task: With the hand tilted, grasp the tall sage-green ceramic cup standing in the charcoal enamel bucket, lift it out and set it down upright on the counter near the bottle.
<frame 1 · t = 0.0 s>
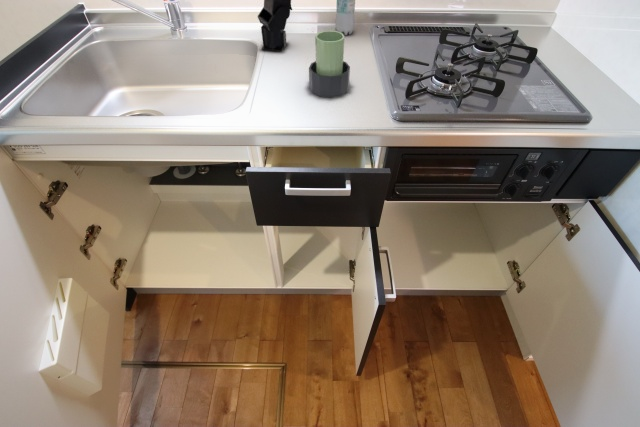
bucket: (329, 87, 90), on the worktop
cup: (329, 63, 85), in the bucket
bottle: (344, 33, 115), on the worktop
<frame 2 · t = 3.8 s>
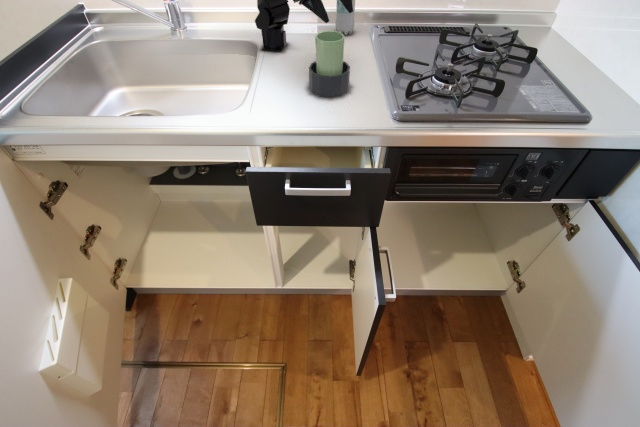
hand: (340, 17, 84), 14 cm above the worktop, tool tilted 40°, fingers open, 9 cm apart
nothing on the worktop moved.
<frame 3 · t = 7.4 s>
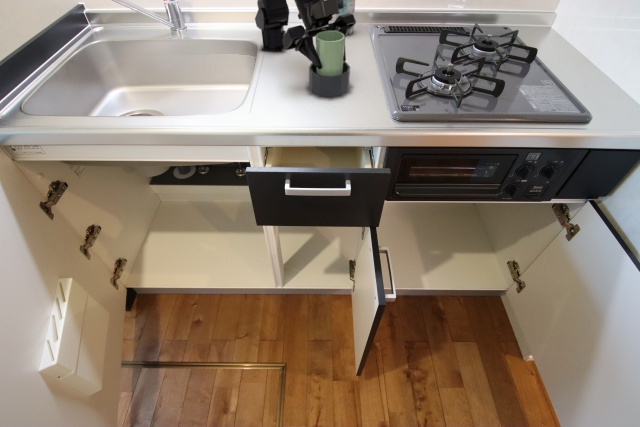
hand: (332, 64, 84), 7 cm above the worktop, tool tilted 45°, fingers closed on cup, 7 cm apart
cup: (329, 63, 85), in the bucket, touching gripper
everything else where it was.
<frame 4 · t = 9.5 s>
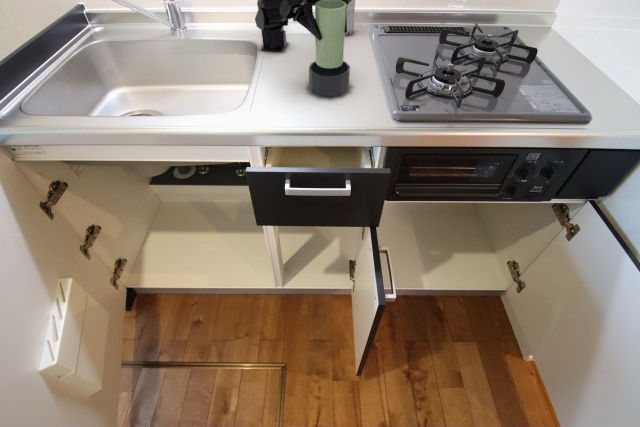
hand: (333, 36, 79), 13 cm above the worktop, tool tilted 45°, fingers closed on cup, 7 cm apart
cup: (330, 34, 80), point 13 cm above the worktop, touching gripper
everything else where it was.
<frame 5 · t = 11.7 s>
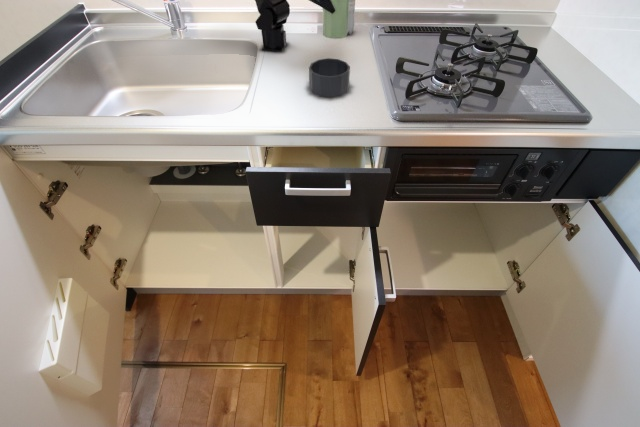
hand: (340, 8, 88), 15 cm above the worktop, tool tilted 45°, fingers closed on cup, 7 cm apart
cup: (335, 7, 89), point 14 cm above the worktop, touching gripper
everything else where it was.
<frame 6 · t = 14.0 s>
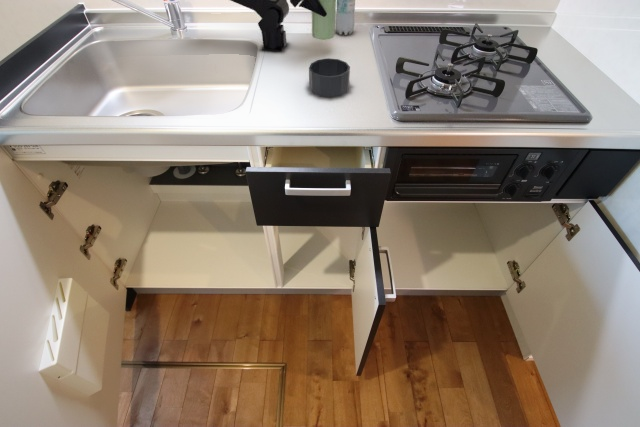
hand: (328, 11, 96), 11 cm above the worktop, tool tilted 45°, fingers closed on cup, 7 cm apart
cup: (323, 11, 96), point 11 cm above the worktop, touching gripper
everything else where it was.
when the fingers open (7 cm above the worktop, at t = 15.9 s): cup stays where it is, on the worktop.
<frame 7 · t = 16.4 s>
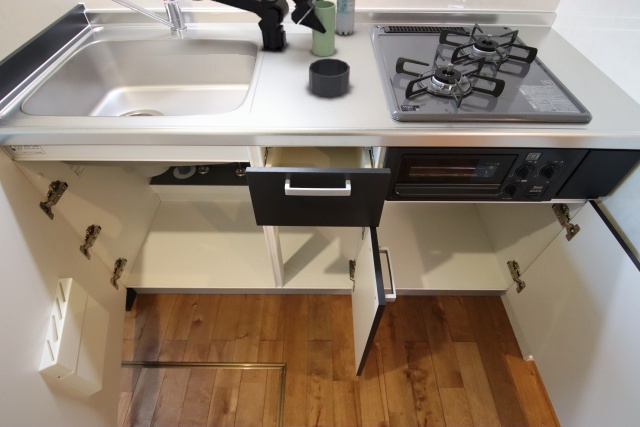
hand: (328, 26, 99), 7 cm above the worktop, tool tilted 45°, fingers open, 9 cm apart
cup: (323, 29, 100), on the worktop
everything else where it was.
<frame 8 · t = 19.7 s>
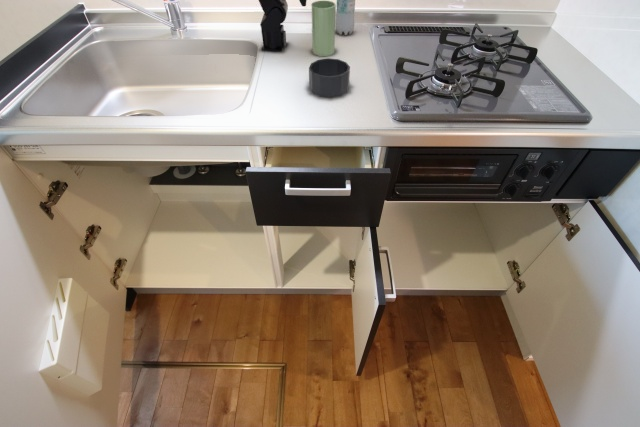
hand: (307, 0, 97), 13 cm above the worktop, tool pointing down, fingers open, 9 cm apart
nothing on the worktop moved.
at the end: cup 16.6 cm from the bottle (horizontally); cup on the worktop; cup tilted 0° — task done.
